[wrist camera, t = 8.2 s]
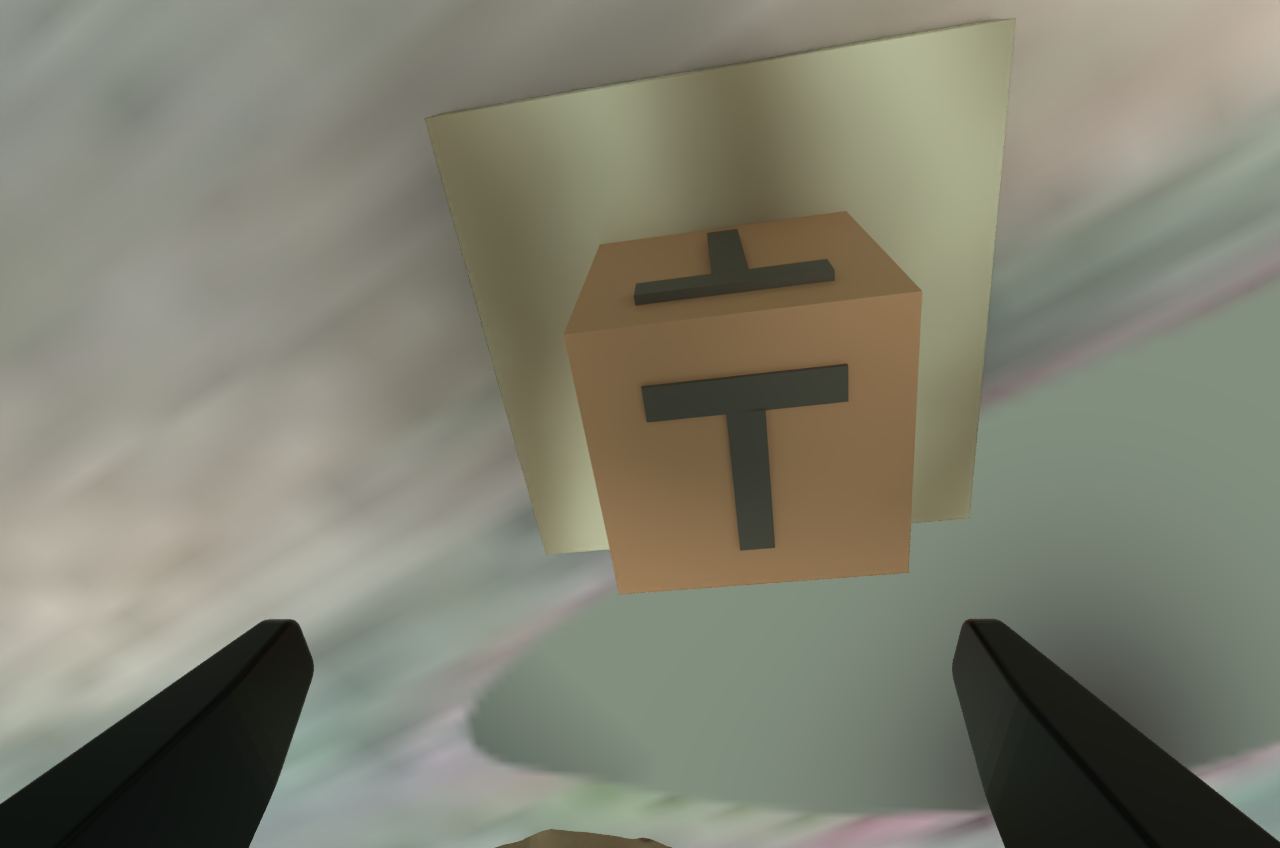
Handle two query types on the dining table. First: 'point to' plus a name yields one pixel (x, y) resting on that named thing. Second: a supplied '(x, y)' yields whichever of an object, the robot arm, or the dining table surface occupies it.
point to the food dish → (581, 841)
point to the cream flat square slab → (736, 219)
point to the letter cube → (749, 403)
